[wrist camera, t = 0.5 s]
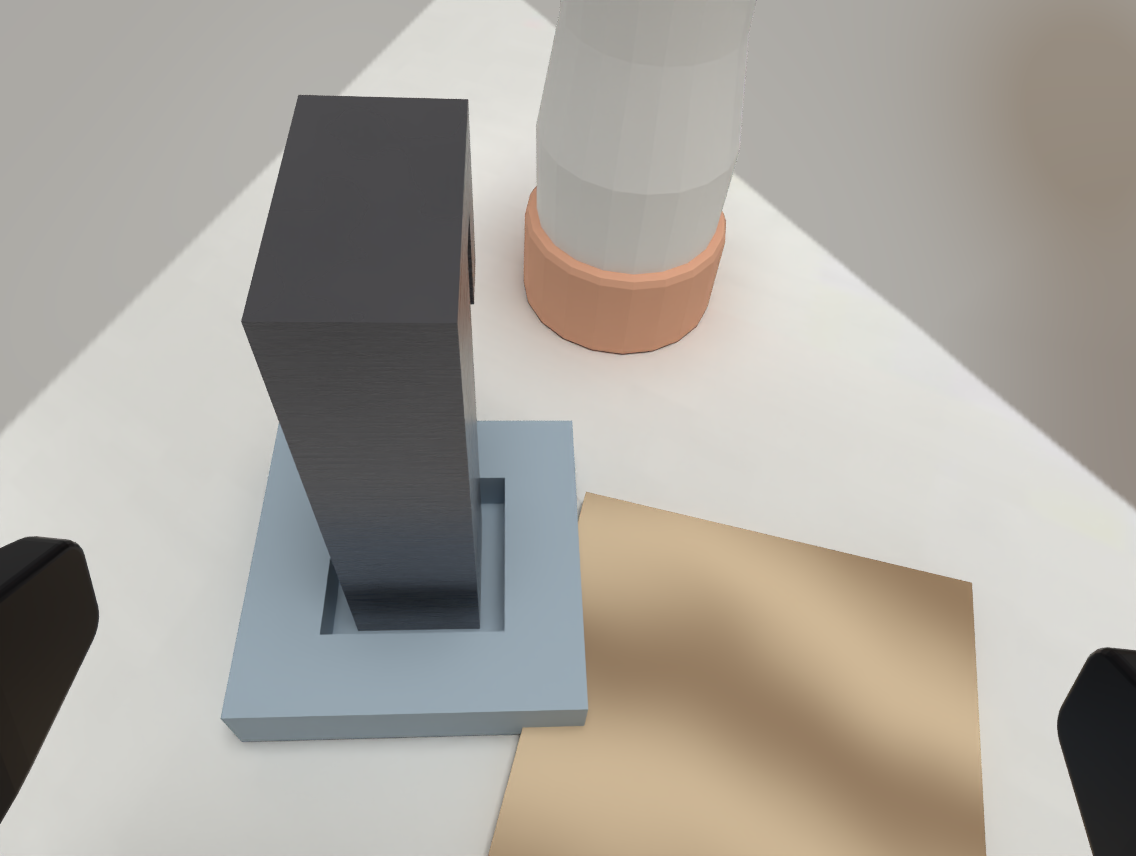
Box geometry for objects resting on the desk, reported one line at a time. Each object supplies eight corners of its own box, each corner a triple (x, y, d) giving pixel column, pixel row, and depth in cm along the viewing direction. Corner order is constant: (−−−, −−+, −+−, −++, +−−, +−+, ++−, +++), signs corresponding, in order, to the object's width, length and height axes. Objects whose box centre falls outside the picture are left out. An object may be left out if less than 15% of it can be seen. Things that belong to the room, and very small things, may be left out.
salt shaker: (697, 224, 35) (846, -413, 20) (720, 356, 31) (932, -325, 15) (524, 219, 35) (536, -436, 19) (522, 352, 30) (536, -353, 15)
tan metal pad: (984, 1067, 19) (996, 1068, 18) (472, 920, 20) (471, 916, 19) (963, 591, 26) (971, 582, 25) (584, 501, 27) (586, 491, 26)
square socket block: (582, 732, 23) (588, 709, 21) (242, 741, 22) (220, 718, 20) (568, 456, 28) (572, 420, 26) (293, 457, 27) (279, 421, 26)
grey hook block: (480, 628, 24) (457, 323, 13) (358, 630, 23) (241, 321, 13) (483, 448, 27) (468, 99, 17) (378, 448, 27) (298, 94, 17)
